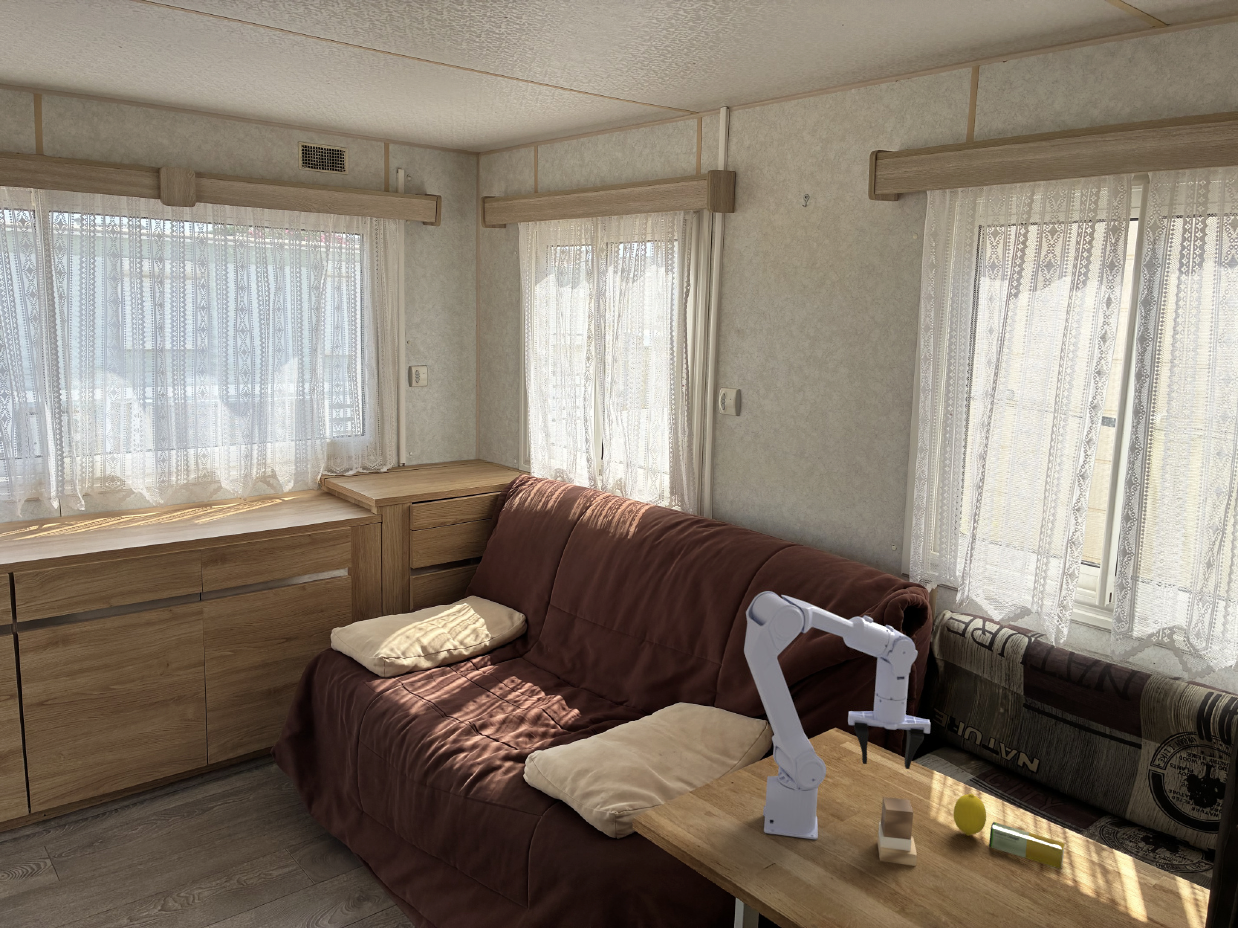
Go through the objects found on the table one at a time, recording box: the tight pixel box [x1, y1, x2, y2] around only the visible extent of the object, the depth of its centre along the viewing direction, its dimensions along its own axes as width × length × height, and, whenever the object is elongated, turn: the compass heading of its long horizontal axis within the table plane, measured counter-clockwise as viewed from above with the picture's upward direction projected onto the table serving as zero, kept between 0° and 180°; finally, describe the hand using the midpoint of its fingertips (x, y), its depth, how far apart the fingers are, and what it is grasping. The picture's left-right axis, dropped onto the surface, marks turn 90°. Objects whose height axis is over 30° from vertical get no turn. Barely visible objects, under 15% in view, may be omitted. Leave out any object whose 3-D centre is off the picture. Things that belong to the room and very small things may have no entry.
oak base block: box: [876, 831, 918, 867], centre depth 162 cm, size 6×6×2 cm
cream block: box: [878, 821, 912, 851], centre depth 162 cm, size 5×5×2 cm
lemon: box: [953, 793, 987, 837], centre depth 168 cm, size 6×6×8 cm
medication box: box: [988, 821, 1066, 869], centre depth 163 cm, size 12×3×4 cm, turn 57°
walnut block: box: [880, 796, 914, 840], centre depth 161 cm, size 4×4×5 cm
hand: (885, 764), depth 173 cm, fingers open, 7 cm apart
